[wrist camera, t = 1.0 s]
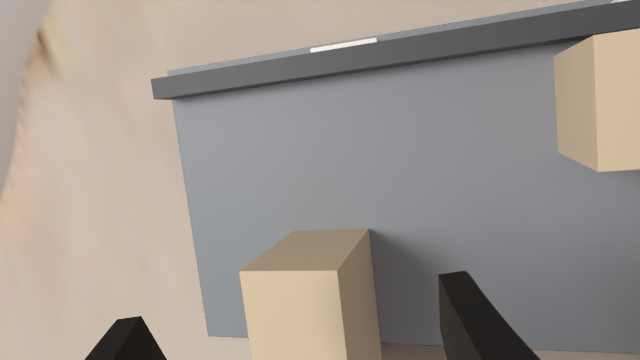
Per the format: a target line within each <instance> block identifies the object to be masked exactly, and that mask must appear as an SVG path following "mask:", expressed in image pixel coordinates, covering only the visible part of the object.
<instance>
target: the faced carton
mask: <svg viewBox="0 0 640 360" xmlns="http://www.w3.org/2000/svg"><path fill="white" fill-rule="evenodd" d="M554 76H555V97H556V118H557V139H558V153H560V154H563V155H565V156H567V157H569V158H571V159H573V160H575V161H577V162H579V163H581V164H583V165H585V166H587V167H589V168H591V169H593V170H595V171H597V172H607V171H622V170H637V169H640V28H639V29H632V30H625V31H619V32H612V33H605V34H598V35H593V36H591V37H589V38H587V39H585V40H583V41H581V42H580V43H578V44H576V45H574V46H572V47H570V48H568V49H566V50H564V51H563V52H561V53H559V54H557V55H555V56H554Z"/></svg>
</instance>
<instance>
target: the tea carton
mask: <svg viewBox="0 0 640 360" xmlns="http://www.w3.org/2000/svg"><path fill="white" fill-rule="evenodd" d="M239 273H240V280H241V287H242V294H243V301H244V309H245V316H246V323H247V330H248V337H249V344H250V351H251V358H252V360H382V353H381V344H380V334H379V324H378V315H377V305H376V295H375V286H374V276H373V266H372V256H371V247H370V237H369V228H366V229H340V230H313V231H292V232H291V233H290V234H288V235H287V236H286V237H284V238H283V239H282V240H280V241H279V242H278V243H276V244H275V245H274V246H272V247H271V248H270V249H268V250H267V251H266V252H264V253H263V254H262V255H260V256H259V257H258V258H256V259H255V260H254V261H252V262H251V263H250V264H248V265H247V266H246V267H244V268H243V269H242V270H240V271H239Z"/></svg>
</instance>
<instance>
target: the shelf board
mask: <svg viewBox="0 0 640 360" xmlns="http://www.w3.org/2000/svg"><path fill="white" fill-rule="evenodd" d="M639 28H640V0H585V1H579V2H573V3H567V4H561V5H555V6H549V7H544V8H538V9H532V10H526V11H520V12H514V13H508V14H502V15H496V16H490V17H485V18H479V19H473V20H467V21H461V22H455V23H449V24H443V25H437V26H431V27H426V28H420V29H414V30H408V31H402V32H396V33H390V34H384V35H378V36H373V37H367V38H361V39H355V40H349V41H343V42H337V43H331V44H325V45H319V46H314V47H308V48H302V49H296V50H290V51H284V52H278V53H272V54H266V55H260V56H255V57H249V58H243V59H237V60H231V61H225V62H219V63H213V64H207V65H202V66H196V67H190V68H184V69H178V70H172V71H167V72H168V77H162V78H156V79H151V84H152V90H153V96H154V99H164V100H172V104H173V111H174V117H175V123H176V130H177V136H178V143H179V149H180V156H181V162H182V169H183V175H184V182H185V188H186V195H187V201H188V208H189V214H190V221H191V227H192V234H193V240H194V247H195V253H196V260H197V266H198V273H199V279H200V286H201V292H202V299H203V305H204V311H205V318H206V324H207V331H208V336H215V337H239V338H249V337H248V330H247V323H246V316H245V309H244V301H243V294H242V287H241V280H240V273H239V271H240V270H242V269H243V268H244V267H246V266H247V265H248V264H250V263H251V262H252V261H254V260H255V259H256V258H258V257H259V256H260V255H262V254H263V253H264V252H266V251H267V250H268V249H270V248H271V247H272V246H274V245H275V244H276V243H278V242H279V241H280V240H282V239H283V238H284V237H286V236H287V235H288V234H290V233H291V232H292V231H313V230H340V229H366V228H369V237H370V247H371V256H372V266H373V276H374V286H375V295H376V305H377V315H378V324H379V334H380V343H385V344H409V345H434V346H444V344H443V340H442V336H441V332H440V312H439V284H438V274H444V273H452V272H459V271H466V272H468V273H469V274H470V275H471V277H472V278H473V280H474V281H475V282H476V284H477V285H478V287H479V288H480V289H481V291H482V292H483V293H484V295H485V296H486V297H487V298H488V300H489V301H490V302H491V304H492V305H493V306H494V307H495V309H496V310H497V311H498V312H499V313H500V315H501V316H502V317H503V318H504V319H505V321H506V322H507V323H508V324H509V325H510V327H511V328H512V329H513V330H514V331H515V332H516V333H517V334H518V336H519V337H520V338H521V339H522V340H523V341H524V342H525V343H526V345H527V346H528V347H529V348H530V349H531V350H555V351H580V352H604V353H628V354H640V169H637V170H622V171H607V172H597V171H595V170H593V169H591V168H589V167H587V166H585V165H583V164H581V163H579V162H577V161H575V160H573V159H571V158H569V157H567V156H565V155H563V154H560V153H558V139H557V118H556V97H555V76H554V56H555V55H557V54H559V53H561V52H563V51H564V50H566V49H568V48H570V47H572V46H574V45H576V44H578V43H580V42H581V41H583V40H585V39H587V38H589V37H591V36H593V35H598V34H605V33H612V32H619V31H625V30H632V29H639Z"/></svg>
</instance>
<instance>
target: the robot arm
mask: <svg viewBox="0 0 640 360" xmlns="http://www.w3.org/2000/svg"><path fill="white" fill-rule="evenodd" d="M438 284H439V312H440V332H441V336H442V340H443V344H444V348H445V352H446V356H447V360H540V359H539V358H538V357H537V356H536V355H535V353H534V352H533V351H532V350H531V349H530V348H529V347H528V346H527V345H526V343H525V342H524V341H523V340H522V339H521V338H520V337H519V336H518V334H517V333H516V332H515V331H514V330H513V329H512V328H511V327H510V325H509V324H508V323H507V322H506V321H505V319H504V318H503V317H502V316H501V315H500V313H499V312H498V311H497V310H496V309H495V307H494V306H493V305H492V304H491V302H490V301H489V300H488V298H487V297H486V296H485V295H484V293H483V292H482V291H481V289H480V288H479V287H478V285H477V284H476V282H475V281H474V280H473V278H472V277H471V275H470V274H469V273H468V272H466V271H459V272H452V273H444V274H438ZM85 360H167V359H166V358H165V356H164V354H163V353H162V351H161V349H160V348H159V346H158V344H157V342H156V341H155V339H154V337H153V336H152V334H151V332H150V331H149V329H148V327H147V326H146V324H145V322H144V320H143V319H142V317H141V316H139V317H132V318H125V319H118V320H116V322H115V323H114V324H113V325H112V326H111V328H110V329H109V330H108V331H107V332H106V334H105V335H104V336H103V337H102V339H101V340H100V341H99V342H98V344H97V345H96V346H95V347H94V349H93V350H92V351H91V352H90V354H89V355H88V356H87V357H86V359H85Z"/></svg>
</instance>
